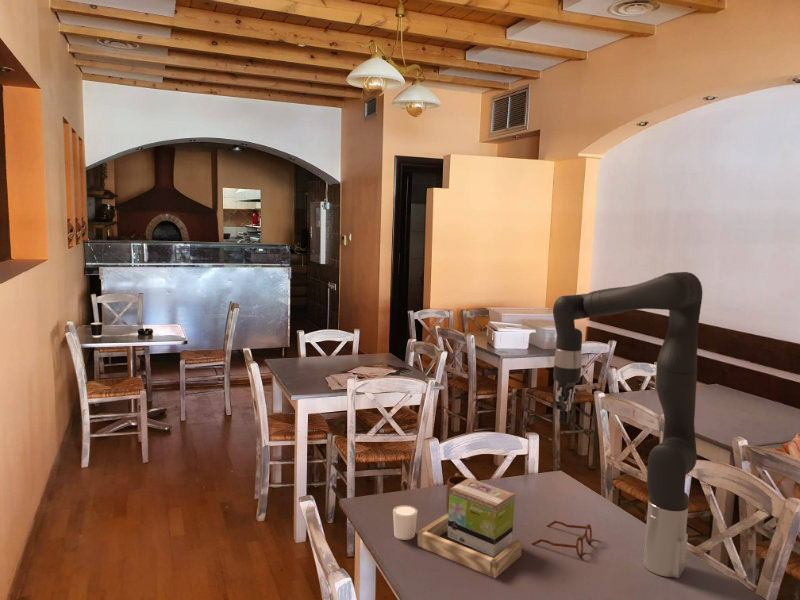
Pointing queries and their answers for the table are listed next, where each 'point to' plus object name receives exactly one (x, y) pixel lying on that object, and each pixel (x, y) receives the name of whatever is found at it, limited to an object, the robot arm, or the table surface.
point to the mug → (451, 483)
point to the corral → (466, 550)
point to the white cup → (404, 522)
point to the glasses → (577, 538)
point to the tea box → (481, 516)
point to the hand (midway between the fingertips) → (563, 422)
